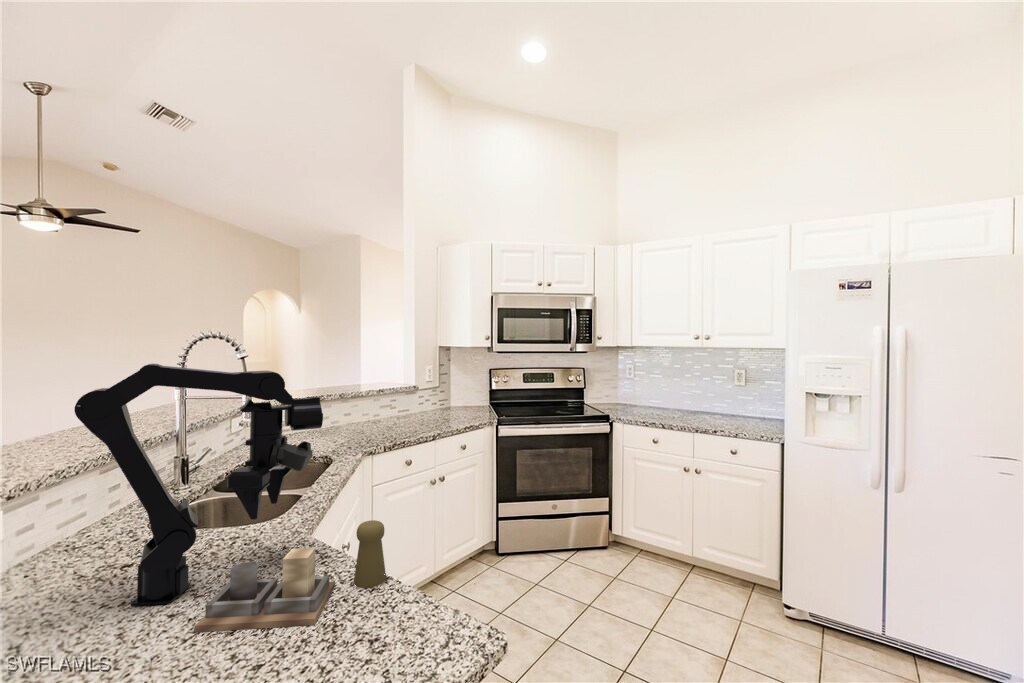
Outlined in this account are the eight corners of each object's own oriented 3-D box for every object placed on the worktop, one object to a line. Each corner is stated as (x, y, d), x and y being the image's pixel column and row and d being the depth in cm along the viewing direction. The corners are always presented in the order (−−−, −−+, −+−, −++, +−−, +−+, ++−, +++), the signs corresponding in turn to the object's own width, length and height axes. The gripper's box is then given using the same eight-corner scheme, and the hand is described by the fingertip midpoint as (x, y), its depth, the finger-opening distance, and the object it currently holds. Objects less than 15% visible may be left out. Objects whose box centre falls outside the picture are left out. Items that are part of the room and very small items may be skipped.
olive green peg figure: (376, 589, 84) (377, 529, 84) (347, 586, 85) (348, 527, 85) (391, 574, 90) (392, 518, 90) (363, 571, 91) (364, 515, 91)
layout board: (194, 632, 71) (195, 586, 71) (232, 592, 83) (233, 553, 83) (314, 624, 73) (315, 580, 73) (334, 586, 85) (335, 549, 85)
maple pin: (282, 607, 76) (282, 559, 76) (291, 594, 80) (291, 548, 80) (306, 605, 77) (307, 557, 77) (314, 593, 81) (315, 547, 81)
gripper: (290, 441, 83) (288, 527, 83) (322, 425, 102) (320, 495, 101) (226, 442, 82) (224, 529, 82) (270, 425, 101) (268, 496, 100)
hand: (264, 510), depth 91 cm, fingers open, 9 cm apart
